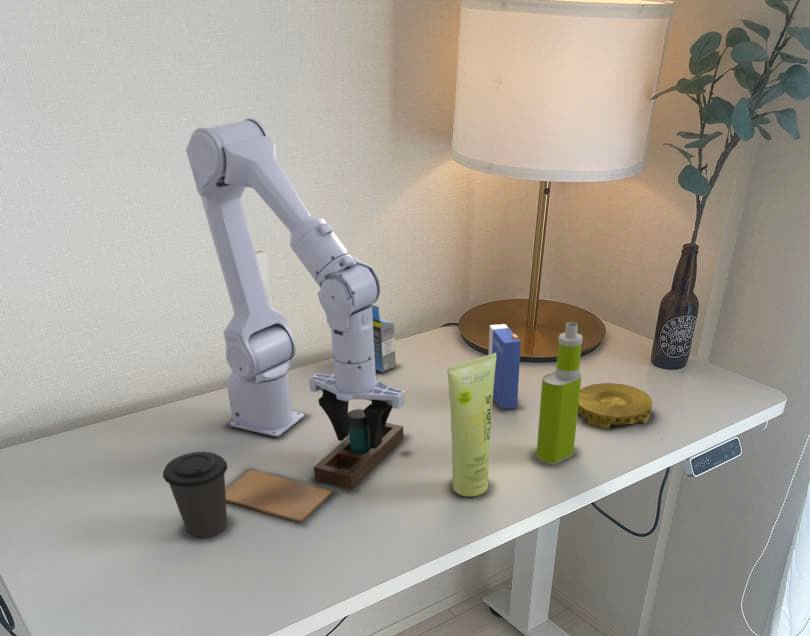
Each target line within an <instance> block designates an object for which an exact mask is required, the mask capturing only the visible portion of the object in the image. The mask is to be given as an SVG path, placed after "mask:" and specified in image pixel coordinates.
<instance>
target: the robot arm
mask: <svg viewBox="0 0 810 636" xmlns="http://www.w3.org/2000/svg"><path fill="white" fill-rule="evenodd" d="M189 138H190V139H189V141H188V143H187V147H186V149H185V152H186V155H187V159H188V163H189V165H190V169H191V173H192V177H193V180H194V183H195V187H196V191H197V194H198V195H199V196H200V199H201V202H202V206H203V208H204V213H205V216H206V219H207V220H206V221H207V224H208V227H209V231H210V234H211V238H212V241H213V244H214V248H215V251H216V255H217V259H218V261H219V266H220V269H221V273H222V277H223V279H224V283H225V287H226V291H227V293H228V297H229V300H230V304H231V307H232V311H233V315H232V317H231V319H230V320H229V322H228V324H227V325H226V327H225V329H224V330H223V336H224V341H225V356H226V361H227V364H228V366H229V368H230V369H231V371H230V372H231V373H230V374H229V377H228V380H227V395H228V400H229V406H230V412H231V418H232V421H231V422H230V423H229V425H230V426H229V427H233V428H237V429H241V430H244V431H245V430H246V431H250V432H254V433H258V434H263V435H266V436H270V437H274V438H278V437H280V436H281V435H283V434H284V433H285V432H287V431H288V430H289V429H290V428H291V427H293V426H295V424H296V423H298V422H299V421H301V419H303V418H305V413H304V412H299V411H295V410H293V405H292V403H293V402H292V396H291V389H290V381H289V379H290V378H289V372H288V370H289V369H290V368H291V365H292V364H291V361H292V360H293V359H294V358H295V356H296V353H297V344H296V339H295V336H294V335H293V333H292V331H291V329H290V327H289V326H288V324H287V319H286V317H285V315H284V314H283V313H282V312H280V311H278V310H276V309H274V308H272V307H271V306H270V303H269V300H268V296H267V292H266V289H265V285H264V281H263V277H262V273H261V270H260V265H259V262H258V258H257V255H256V251H255V248H254V244H253V239H252V236H251V232H250V229H249V224H248V221H247V217H246V214H245V209H244V206H243V201H242V196H243V193H244V192H245V190H246V188H250V189H252V190H254V192H255V193H256V194H257V195H258V196H259V197H260V198H261V199H262V200H263V202H264V203H265V204H266V205H267V206H268V207H269V209H270V210H271V211H272V212H273V213H274V214H275V216H276V218H277V219H279V220H280V222H281V223H282V224H283V226H285V227H286V229H287V230H288V231H289V232H290V236H289V237H290V238H289V246H290V248H291V250H292V252H293V253H294V254H295V255H296V257H297V258H298V260H299V261H300V262H301V263H302V264H303V266H304V267H305V270H306V271H308V273H309V274H310V276H311V278H312V279H313V280H314V281H315V282H316V284H317V286H318V287H319V288H320V289H319V291H318V292H317V296H318V301H319V303H320V306H321V308H322V309H323V311H324V313H325V316H326V323H327V324H328V327H329V328H330V333H331V345H332V357H333V358H332V359H333V370H334V374H323V373H315V374H313V375H312V376H310V377H309V378H308V381H309V390H310V392H314V393H315V392H318V391H321V392H322V395H321V397H319V399H318V406H319V407H321V409H322V410H323V411H324V413H325V414H326V416H327V418H328V419H329V421H330V423H331V425H332V428H333V431H334V433H335V436H336V438H337V441H340V442H342V441H344V440H345V439H346V438H347V437H348V436H349V428H348V413H349V404H350V403H349V402H350V401H351V400H365V401H370V402H371V403H370V404H368V405H367V406H366V407H365V408H364V409H363V410H364V414H365V416H366V419H367V422H368V427H369V435H370V445H371V448H373V449H376V448H377V447H378V446H379V445H380V444H381V443H382V437H383V432H384V428H385V425H386V423H388V422H387V421H388V419H389V416H390V414H391V412H392V411H393V409H396V410H399V409H400V408H401V407H402V406H404V404H406V403H405V402H406V396H405V395H406V393H405V390H403V389H402V390H401V389H398V388H395V387H393V386H391V385H388V384H386V383H384V382H382V381H379V380H377V378H376V377H377V376H376V370H375V357H374V337H373V317H372V306H371V305H374V304H375V303H377V302H378V300H379V298H380V296H381V284H380V283H381V282H380V280H379V277H378V275H377V274H376V272H375V270H374V268H373V266H371V265H370V264H368V263H367V262H365V261H360V260H359V258H358V257H357V256H353V255H351V254H350V253H349V251H348V250H347V248H346V247H345V246H344V244H343V243H342V242H341V240H340V239H339V237H338V236H337V235H336V233H335V232H334V229H333V228H332V226H331V225H330V223H328V222H327V221H326V220H325V219H324V218H320V217H315V216H312V215H311V214H310V212H309V210H308V209H307V207H306V206H305V204H304V202H303V200H301V198H300V196H299V195H298V193H297V191H296V190H295V188H294V187H293V185H292V184H291V182H290V180H289V179H288V177H287V175H286V174H285V171H283V169H282V168H281V166H280V164H279V162H278V160H277V148H276V147H277V146H276V142H275V140H274V139H273V138H272V137H271V136H270V135H269V133H268V131H267V129H266V127H265V126H264V125H263V124H262V122H261V121H259V120H257V119H256V118H252V117H250V118H245V119H243V120H240V121H235V122H230V123H225V124H221V125H220V124H219V125H215V126H210V127H198V128H196V129H195V130H194V131H193V132H192V134H191V136H190V137H189ZM369 306H371V307H369Z"/></svg>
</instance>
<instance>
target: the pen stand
mask: <svg viewBox="0 0 810 636" xmlns="http://www.w3.org/2000/svg"><path fill="white" fill-rule="evenodd" d="M404 435H405V434H404V426H403V425H400V424H394V423H390V422H386V425H385V428H384V432H383V437H382V443H381V444H380V445H379V446H378V447H377V448H376V449H373V448H371V445H370V450H369V451H368V452H367V453H366V454H365V455H364V454H360V453H356V452H352V451H350V441H349V435H348V436H347V437H346V438H345V439H344V440H342V441H340V443H339V444H337V446H335V447H334V448H333V449H332V450H331V451H330V452H328V454H327V455H325V456H324V457H323V458H322V459H321V460H320V461H319V462H317V463H316V464H315V465H314V466H313V474H314V475H313V477H314V481H317V482H321V483H325V484H327V485H332V486H336V487H340V488H344V489H348V490H353V489H354V488H355V487H357V485H358V484H359V483H360V482H361V481H362V480H363V479H364V478H365V477H367V476H368V474H369V473H370V472H372V470H373V469H375V467H377V465H379V463H381V461H383V460H384V459H385V458H386V456H387V455H389V453H391V452H392V451H393V450H394V449H395V448H396V447H397V446H398V445H399V444H400V443H401V442H402V441H403V440H404V439H405V438H404V437H405V436H404ZM338 467H345V468H348V470H346V469H342V468H338Z"/></svg>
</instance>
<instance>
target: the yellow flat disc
mask: <svg viewBox="0 0 810 636" xmlns="http://www.w3.org/2000/svg"><path fill="white" fill-rule="evenodd" d="M652 407H653V400H652V397H651V396H650V395H649V394H648V393H647V392H645V391H644V390H642V389H640V388H637V387H635V386H632V385H628V384H623V383H614V382H603V383H602V382H601V383H595V384H590V385H587V386H584V387H583V388H580V395H579V404H578V414H580V415H581V416H582V417H584V418H586V419H587V424H589V425H592V426H594V427H597V428H601V429H602V428H603V429H611V425H613V426H614V425H616V426H617V425H618V426H619V425H620V426H624V425H632V424H636V423H641V424H643V425H644V424H646V423H647V422H648V421H649V419H650V417H651V412H652Z"/></svg>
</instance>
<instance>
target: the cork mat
mask: <svg viewBox="0 0 810 636" xmlns="http://www.w3.org/2000/svg"><path fill="white" fill-rule="evenodd" d="M225 493H226V503H231V504H233V505H236V506H237V505H238V506H242V507H244V508H248V509H252V510H255V511H258V512H262V513H266V514H269V515H272V516H276V517H280V518H283V519H287V520H291V521H294V522H297V523H302V522H303V521H305V519H307V517H309V516H311V514H312V513H313V512H314V511H315V510H316V509H317V508H318V507H320V506H321V504H322V503H324V501H326V500H327V499H328V498H329V496H331V495H332V494H333V491H332V490H331V489H326V488H323V487H318V486H315V485H311V484H307V483H304V482H300V481H296V480H292V479H288V478H284V477H281V476H277V475H273V474H269V473H265V472H261V471H258V470H253V469H249V470H247V472H245V473H244V474H243V475H241V476H240V477H238V479H237V480H235V481H234V482H233V483H232V484H230V485H229V486H228V487H226V488H225Z"/></svg>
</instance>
